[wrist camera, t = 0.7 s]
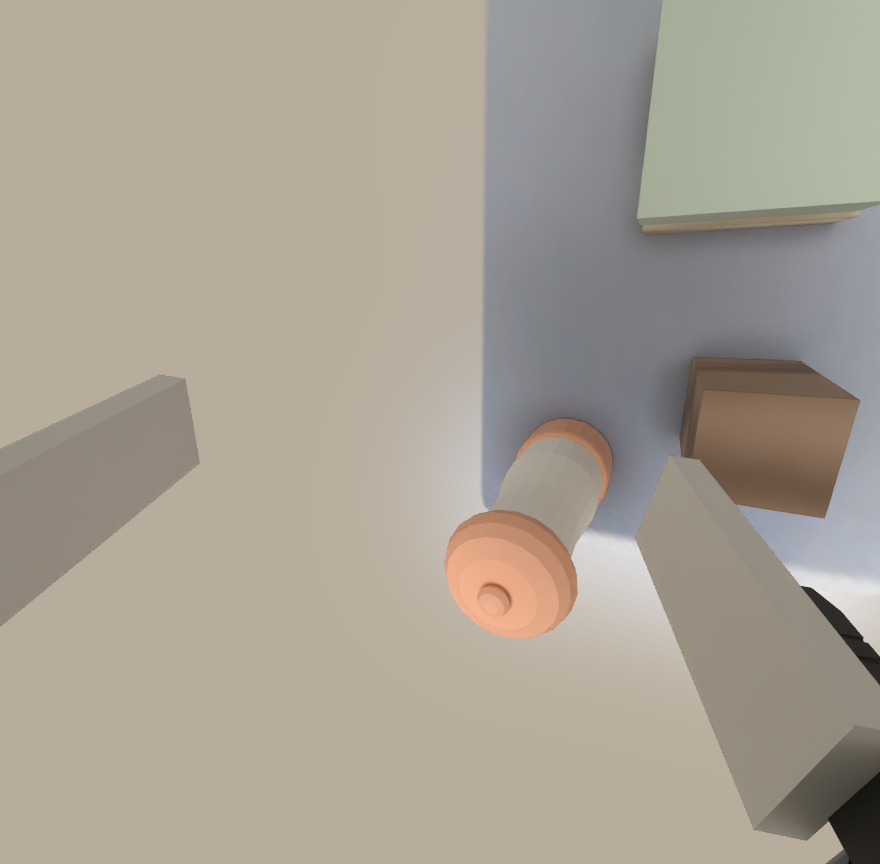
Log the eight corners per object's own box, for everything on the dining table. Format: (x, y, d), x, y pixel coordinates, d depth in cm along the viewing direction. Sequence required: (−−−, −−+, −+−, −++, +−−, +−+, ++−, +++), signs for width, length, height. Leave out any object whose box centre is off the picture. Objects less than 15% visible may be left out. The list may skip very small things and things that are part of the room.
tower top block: (665, 15, 23) (665, -30, 19) (926, -50, 19) (984, -120, 15) (640, 225, 26) (636, 218, 23) (856, 211, 22) (891, 200, 19)
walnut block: (692, 356, 30) (703, 390, 22) (800, 361, 28) (860, 400, 19) (679, 437, 32) (685, 496, 24) (778, 448, 30) (824, 518, 21)
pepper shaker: (544, 403, 36) (446, 511, 20) (630, 442, 34) (598, 598, 18) (512, 473, 39) (406, 614, 23) (588, 513, 37) (530, 698, 21)
